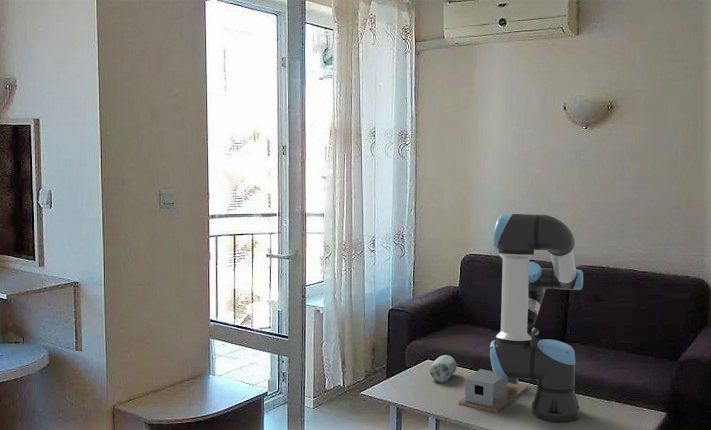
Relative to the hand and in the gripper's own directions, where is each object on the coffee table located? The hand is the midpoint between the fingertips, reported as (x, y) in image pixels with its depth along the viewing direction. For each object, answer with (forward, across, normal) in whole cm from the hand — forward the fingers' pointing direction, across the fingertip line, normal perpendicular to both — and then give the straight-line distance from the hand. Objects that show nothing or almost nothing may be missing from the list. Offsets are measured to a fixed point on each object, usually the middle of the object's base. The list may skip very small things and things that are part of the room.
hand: (510, 366), depth 255 cm
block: (+10, 0, +4) cm, 11 cm away
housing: (+15, 0, +5) cm, 15 cm away
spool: (+10, +24, 0) cm, 26 cm away
